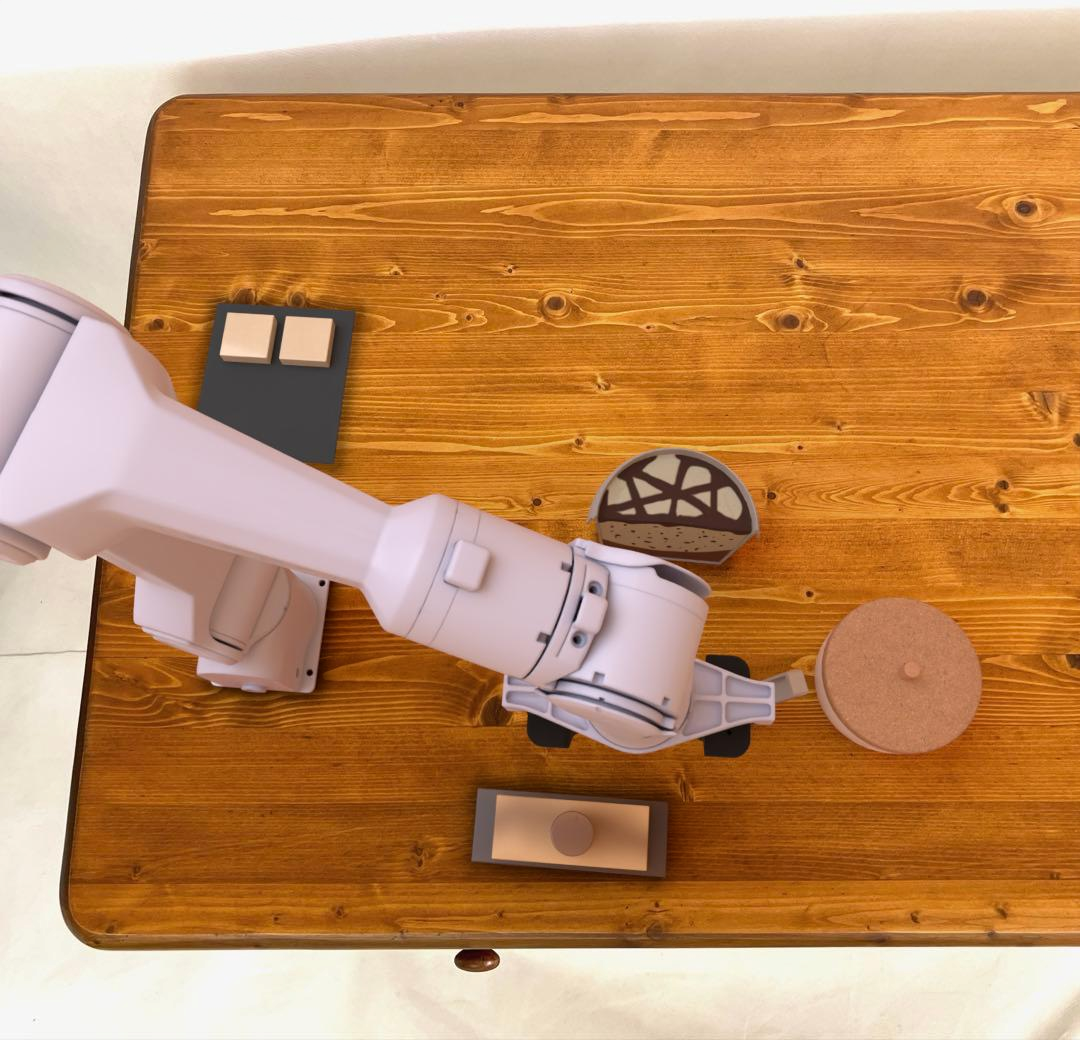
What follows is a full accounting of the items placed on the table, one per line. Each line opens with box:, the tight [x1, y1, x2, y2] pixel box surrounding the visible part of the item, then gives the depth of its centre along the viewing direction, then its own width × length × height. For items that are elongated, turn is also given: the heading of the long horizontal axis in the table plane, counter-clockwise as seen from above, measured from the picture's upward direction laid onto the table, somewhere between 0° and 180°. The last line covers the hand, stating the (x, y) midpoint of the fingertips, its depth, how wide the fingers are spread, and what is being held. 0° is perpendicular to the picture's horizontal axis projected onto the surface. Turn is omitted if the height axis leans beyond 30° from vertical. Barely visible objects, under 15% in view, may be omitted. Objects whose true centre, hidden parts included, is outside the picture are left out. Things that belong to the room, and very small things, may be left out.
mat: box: [196, 302, 356, 465], centre depth 82 cm, size 14×12×1 cm
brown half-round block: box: [586, 446, 761, 566], centre depth 73 cm, size 12×6×10 cm, turn 84°
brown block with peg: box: [492, 795, 649, 871], centre depth 62 cm, size 4×10×8 cm, turn 86°
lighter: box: [761, 669, 809, 705], centre depth 70 cm, size 7×2×8 cm, turn 102°
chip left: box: [220, 313, 277, 364], centre depth 82 cm, size 4×4×1 cm
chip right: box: [279, 316, 335, 367], centre depth 82 cm, size 4×4×1 cm
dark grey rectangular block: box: [470, 787, 669, 878], centre depth 69 cm, size 5×13×6 cm, turn 86°
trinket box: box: [813, 596, 983, 755], centre depth 70 cm, size 11×11×9 cm
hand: (641, 717), depth 61 cm, fingers open, 7 cm apart
